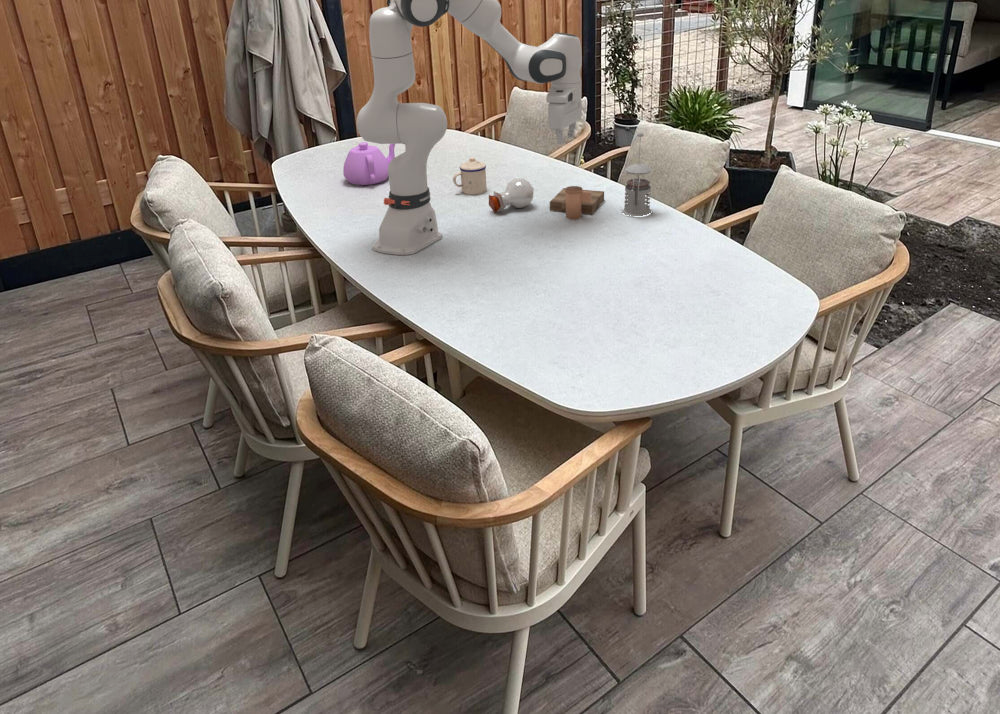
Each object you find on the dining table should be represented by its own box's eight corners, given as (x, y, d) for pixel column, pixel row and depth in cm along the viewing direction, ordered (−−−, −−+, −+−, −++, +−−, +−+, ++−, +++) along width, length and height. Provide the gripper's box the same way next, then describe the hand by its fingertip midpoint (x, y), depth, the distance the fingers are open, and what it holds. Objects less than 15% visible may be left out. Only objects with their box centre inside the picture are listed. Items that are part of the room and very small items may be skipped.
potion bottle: (536, 208, 252) (498, 223, 247) (520, 186, 255) (483, 201, 249) (543, 191, 244) (504, 206, 238) (526, 168, 247) (488, 183, 241)
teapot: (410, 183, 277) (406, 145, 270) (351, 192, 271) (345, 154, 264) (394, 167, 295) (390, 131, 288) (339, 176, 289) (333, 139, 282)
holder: (592, 214, 241) (592, 205, 239) (549, 210, 245) (549, 201, 244) (604, 200, 252) (604, 191, 250) (563, 196, 256) (563, 188, 255)
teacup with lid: (481, 185, 271) (479, 152, 265) (491, 192, 264) (489, 159, 258) (449, 191, 267) (447, 158, 261) (459, 198, 260) (456, 164, 254)
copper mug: (562, 218, 239) (562, 190, 234) (568, 212, 243) (567, 185, 238) (588, 221, 236) (588, 192, 231) (592, 215, 240) (593, 187, 236)
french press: (654, 207, 244) (658, 128, 231) (650, 220, 234) (654, 138, 221) (623, 206, 246) (626, 127, 233) (618, 218, 236) (620, 137, 224)
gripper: (567, 86, 234) (567, 133, 240) (544, 97, 217) (544, 146, 223) (587, 87, 231) (586, 134, 238) (565, 98, 215) (564, 147, 221)
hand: (565, 140), depth 230 cm, fingers open, 8 cm apart
